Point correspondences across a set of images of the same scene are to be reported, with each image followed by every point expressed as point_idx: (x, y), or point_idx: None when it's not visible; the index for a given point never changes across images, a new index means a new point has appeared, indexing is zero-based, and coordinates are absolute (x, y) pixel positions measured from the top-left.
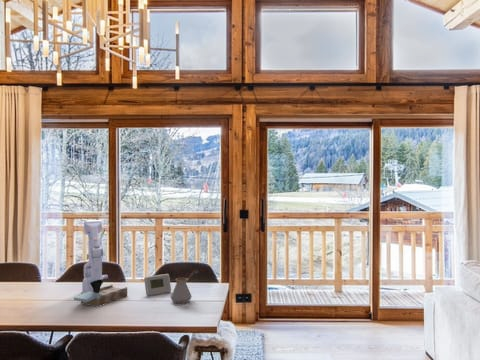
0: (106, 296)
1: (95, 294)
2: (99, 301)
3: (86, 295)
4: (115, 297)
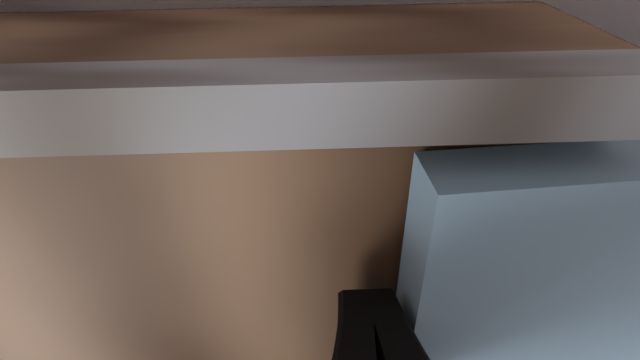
0: (309, 55)
1: (530, 256)
2: (534, 29)
3: (614, 343)
4: (13, 29)
